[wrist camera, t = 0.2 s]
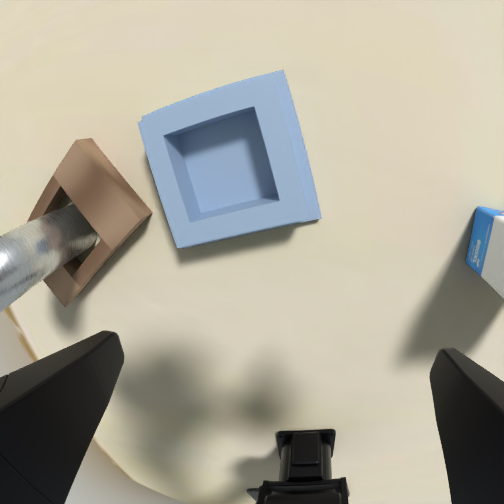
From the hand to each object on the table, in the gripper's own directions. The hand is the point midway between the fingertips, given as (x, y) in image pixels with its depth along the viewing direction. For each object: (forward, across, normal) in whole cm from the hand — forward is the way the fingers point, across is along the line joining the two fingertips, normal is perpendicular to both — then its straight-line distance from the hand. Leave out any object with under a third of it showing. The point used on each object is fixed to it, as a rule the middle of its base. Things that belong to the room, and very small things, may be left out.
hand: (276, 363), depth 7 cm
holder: (+14, +18, +1) cm, 23 cm away
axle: (+14, +17, +1) cm, 22 cm away
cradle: (+14, +4, -4) cm, 15 cm away
